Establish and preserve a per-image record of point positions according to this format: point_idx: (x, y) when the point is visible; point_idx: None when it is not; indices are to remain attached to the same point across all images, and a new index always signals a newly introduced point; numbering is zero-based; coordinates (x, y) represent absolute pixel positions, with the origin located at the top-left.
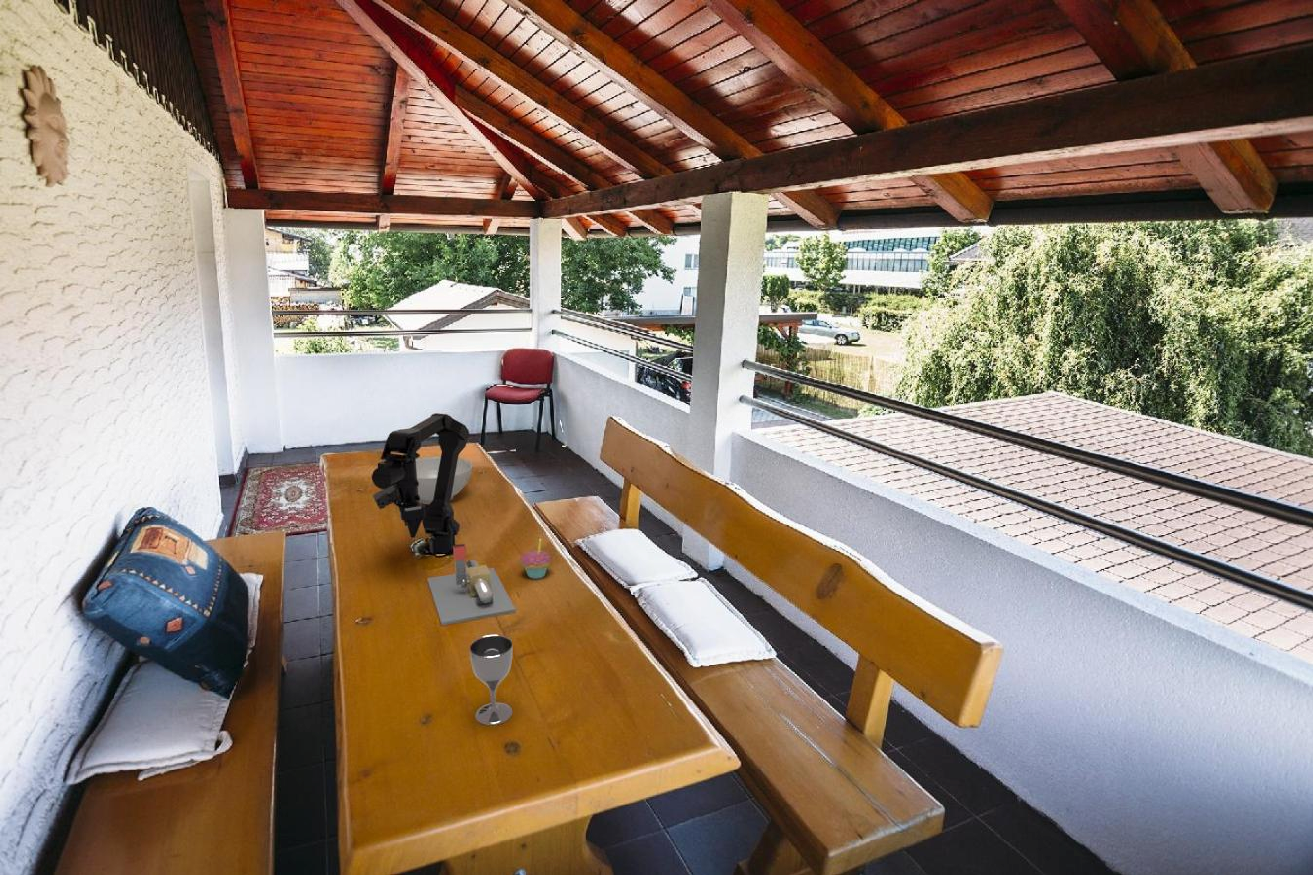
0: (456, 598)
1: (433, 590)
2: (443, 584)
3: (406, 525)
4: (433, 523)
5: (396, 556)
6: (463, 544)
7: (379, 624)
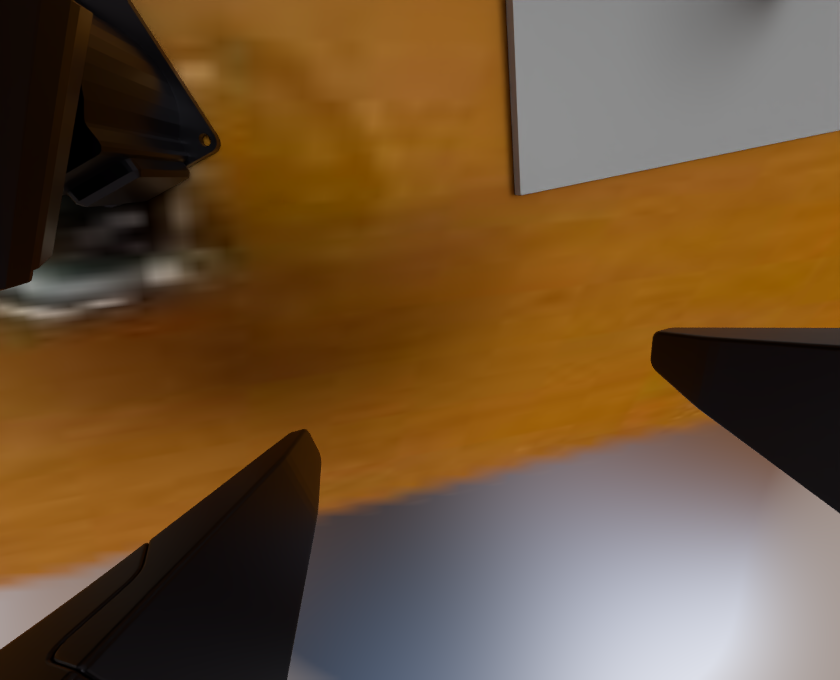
0: (811, 15)
1: (663, 155)
2: (624, 98)
3: (318, 451)
4: (19, 134)
5: (207, 366)
6: None
7: None
